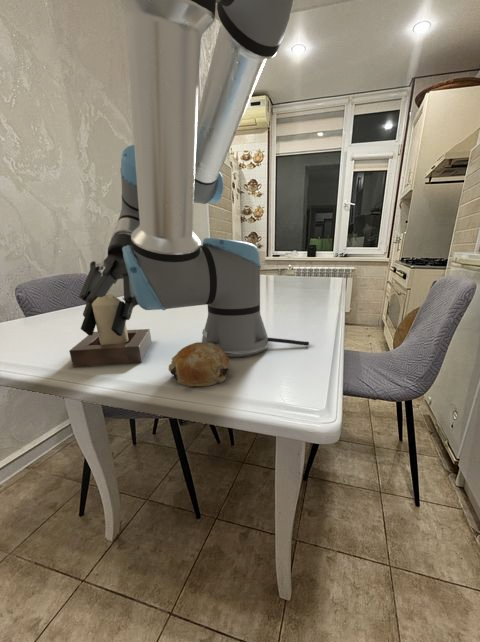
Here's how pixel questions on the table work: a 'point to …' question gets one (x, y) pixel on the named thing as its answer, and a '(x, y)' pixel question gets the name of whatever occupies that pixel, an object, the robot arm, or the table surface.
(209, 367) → the bread roll
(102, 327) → the candle
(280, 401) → the table surface
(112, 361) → the candle block
